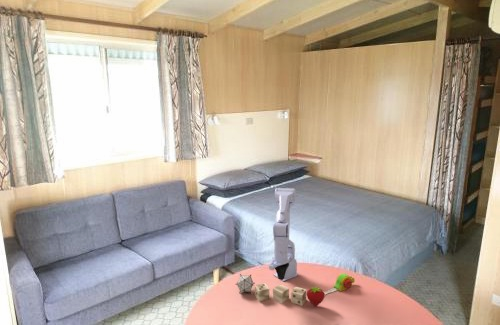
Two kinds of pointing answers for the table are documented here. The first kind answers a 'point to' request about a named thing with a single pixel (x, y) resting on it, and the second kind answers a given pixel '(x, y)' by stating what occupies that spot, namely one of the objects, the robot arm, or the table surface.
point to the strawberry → (315, 296)
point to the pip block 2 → (298, 296)
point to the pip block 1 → (262, 292)
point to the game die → (245, 283)
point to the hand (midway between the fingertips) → (281, 278)
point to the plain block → (281, 293)
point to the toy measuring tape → (342, 283)
